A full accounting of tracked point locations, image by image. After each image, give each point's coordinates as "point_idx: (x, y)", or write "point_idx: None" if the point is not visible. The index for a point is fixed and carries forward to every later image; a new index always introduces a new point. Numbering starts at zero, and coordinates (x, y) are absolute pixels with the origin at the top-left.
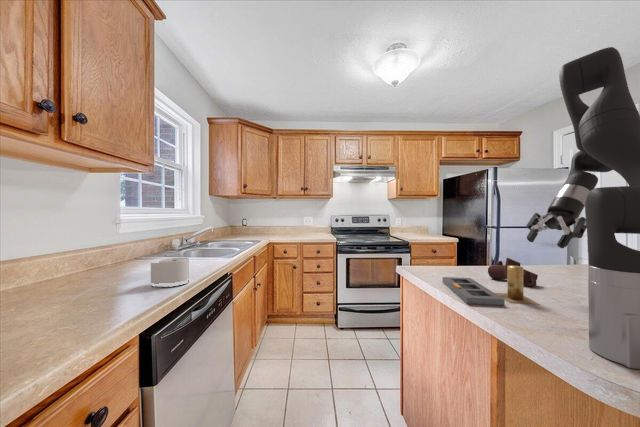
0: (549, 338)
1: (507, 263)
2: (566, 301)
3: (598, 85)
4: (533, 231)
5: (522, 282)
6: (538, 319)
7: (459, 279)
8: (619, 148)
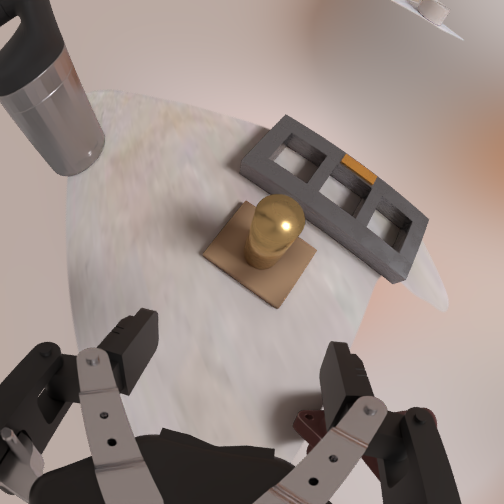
0: (143, 121)
1: None
2: (196, 380)
3: None
4: (345, 385)
5: (248, 234)
6: (177, 178)
7: (404, 239)
8: None
